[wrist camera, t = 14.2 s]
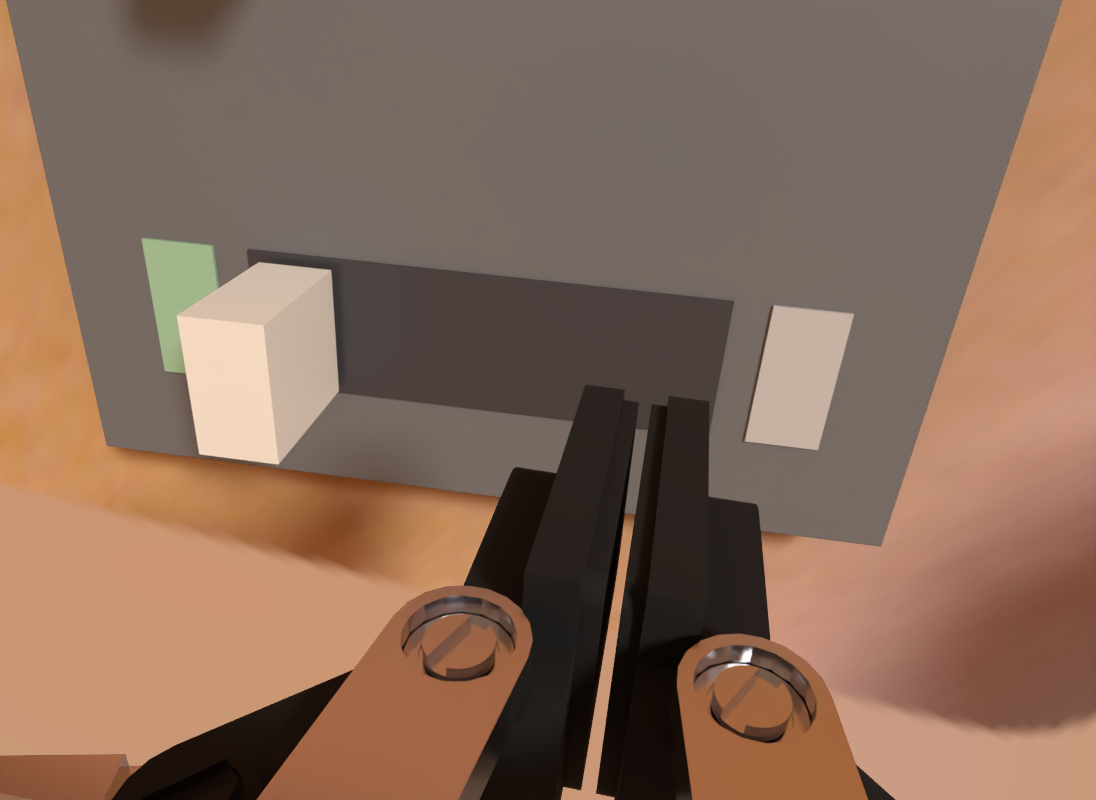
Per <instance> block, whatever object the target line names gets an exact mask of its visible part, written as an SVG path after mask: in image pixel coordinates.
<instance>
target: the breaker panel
mask: <svg viewBox="0 0 1096 800" xmlns="http://www.w3.org/2000/svg"><path fill="white" fill-rule="evenodd" d="M6 2H7V6H8V10H9V15H10V19H11V24H12V28H13V33H14V37H15V41H16V46H17V50H18V55H19V59H20V64H21V68H22V72H23V77H24V81H25V86H26V90H27V95H28V99H29V103H30V108H31V112H32V117H33V121H34V126H35V130H36V134H37V139H38V143H39V148H40V152H41V157H42V161H43V165H44V170H45V174H46V179H47V183H48V188H49V192H50V196H51V201H52V205H53V210H54V214H55V219H56V223H57V227H58V232H59V236H60V241H61V245H62V249H63V254H64V258H65V263H66V267H67V272H68V276H69V280H70V285H71V289H72V294H73V298H74V303H75V307H76V311H77V316H78V320H79V325H80V329H81V334H82V338H83V342H84V347H85V351H86V356H87V360H88V365H89V369H90V373H91V378H92V382H93V387H94V391H95V396H96V400H97V404H98V409H99V413H100V418H101V422H102V427H103V431H104V435H105V440H106V444H107V446H111V447H119V448H126V449H134V450H142V451H150V452H157V453H165V454H173V455H180V456H188V457H196V458H203V459H211V460H219V461H226V462H234V463H242V464H249V465H257V466H265V467H273V468H280V469H288V470H296V471H303V472H311V473H319V474H326V475H334V476H342V477H349V478H357V479H365V480H373V481H380V482H388V483H396V484H403V485H411V486H419V487H426V488H434V489H442V490H449V491H457V492H465V493H472V494H480V495H488V496H496V497H501V495H502V493H503V490H504V488H505V486H506V483H507V481H508V478H509V476H510V474H511V472H512V470H513V468H515V467H520V468H527V469H533V470H540V471H546V472H553V473H557V470H558V467H559V464H560V461H561V458H562V455H563V452H564V449H565V445H566V442H567V439H568V436H569V433H570V430H571V427H572V424H573V421H574V418H575V415H576V412H577V409H578V405H579V402H580V399H581V396H582V393H583V390H584V387H585V385H586V384H587V385H594V386H601V387H608V388H616V389H623V390H625V398H624V400H627V401H634V402H639V407H638V415H637V423H636V431H635V438H634V446H633V454H632V462H631V469H630V477H629V485H628V492H627V500H626V508H625V513H626V514H634V515H635V514H636V507H637V500H638V493H639V487H640V480H641V473H642V466H643V460H644V453H645V446H646V440H647V433H648V426H649V419H650V413H651V406H652V404H656V405H663V406H667V404H668V398H669V396H674V397H681V398H689V399H696V400H703V401H709V497H715V498H722V499H728V500H735V501H741V502H748V503H754V504H756V505H757V506H758V510H759V518H760V529H761V531H765V532H772V533H780V534H788V535H795V536H803V537H811V538H818V539H826V540H834V541H842V542H849V543H857V544H865V545H872V546H880V547H881V545H882V542H883V539H884V536H885V532H886V529H887V526H888V523H889V520H890V517H891V514H892V511H893V508H894V505H895V502H896V499H897V496H898V493H899V490H900V487H901V484H902V481H903V478H904V475H905V472H906V469H907V466H908V463H909V460H910V457H911V454H912V451H913V448H914V445H915V442H916V439H917V436H918V433H919V430H920V427H921V424H922V421H923V418H924V415H925V412H926V409H927V406H928V403H929V400H930V397H931V394H932V391H933V388H934V385H935V382H936V379H937V376H938V373H939V370H940V367H941V364H942V361H943V358H944V355H945V352H946V349H947V346H948V343H949V340H950V337H951V334H952V331H953V328H954V325H955V322H956V319H957V316H958V313H959V310H960V307H961V304H962V301H963V298H964V295H965V292H966V289H967V286H968V283H969V280H970V277H971V274H972V271H973V268H974V265H975V262H976V259H977V256H978V253H979V250H980V247H981V244H982V241H983V238H984V235H985V232H986V229H987V226H988V223H989V220H990V217H991V214H992V211H993V208H994V205H995V202H996V199H997V196H998V193H999V190H1000V187H1001V184H1002V181H1003V178H1004V175H1005V172H1006V169H1007V166H1008V163H1009V160H1010V157H1011V154H1012V151H1013V148H1014V145H1015V142H1016V139H1017V136H1018V133H1019V130H1020V127H1021V124H1022V121H1023V118H1024V115H1025V112H1026V109H1027V106H1028V103H1029V100H1030V97H1031V94H1032V91H1033V88H1034V85H1035V82H1036V79H1037V76H1038V73H1039V70H1040V67H1041V64H1042V60H1043V57H1044V54H1045V51H1046V48H1047V45H1048V42H1049V39H1050V36H1051V33H1052V30H1053V27H1054V24H1055V21H1056V18H1057V15H1058V12H1059V9H1060V6H1061V3H1062V0H6ZM258 262H261V263H271V264H280V265H289V266H298V267H308V268H317V269H326V270H331V273H332V289H333V304H334V320H335V336H336V352H337V368H338V384H339V392H338V393H337V394H336V395H335V397H334V398H333V399H332V400H331V401H330V403H329V404H328V405H327V406H326V408H325V409H324V410H323V411H322V412H321V414H320V415H319V416H318V417H317V418H316V420H315V421H314V422H313V423H312V425H311V426H310V427H309V428H308V429H307V431H306V432H305V433H304V434H303V435H302V437H301V438H300V439H299V440H298V442H297V443H296V444H295V445H294V446H293V448H292V449H291V450H290V451H289V453H288V454H287V455H286V456H285V457H284V459H283V460H282V461H281V462H280V463H279V465H278V464H270V463H263V462H255V461H247V460H239V459H232V458H224V457H216V456H209V455H201V454H199V450H198V444H197V437H196V431H195V425H194V419H193V413H192V407H191V401H190V395H189V388H188V382H187V376H186V370H185V364H184V358H183V352H182V345H181V339H180V333H179V327H178V321H177V315H178V314H180V313H181V312H183V311H184V310H186V309H188V308H189V307H191V306H192V305H194V304H195V303H197V302H198V301H200V300H201V299H203V298H204V297H206V296H208V295H209V294H211V293H212V292H214V291H215V290H217V289H218V288H220V287H221V286H223V285H224V284H226V283H228V282H229V281H231V280H232V279H234V278H235V277H237V276H238V275H240V274H241V273H243V272H244V271H246V270H248V269H249V268H251V267H252V266H254V265H255V264H257V263H258Z"/></svg>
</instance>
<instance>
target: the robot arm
mask: <svg viewBox="0 0 1096 800" xmlns="http://www.w3.org/2000/svg"><path fill="white" fill-rule="evenodd" d="M624 398H625V390H623V389H616V388H608V387H601V386H594V385H587V384H586V385H585V387H584V390H583V393H582V396H581V399H580V402H579V405H578V409H577V412H576V415H575V418H574V421H573V424H572V427H571V430H570V433H569V436H568V439H567V442H566V445H565V449H564V452H563V455H562V458H561V461H560V464H559V467H558V470H557V473H553V472H546V471H540V470H533V469H527V468H520V467H515V468H513V470H512V472H511V474H510V476H509V478H508V481H507V483H506V486H505V488H504V490H503V493H502V495H501V498H500V500H499V502H498V505H497V507H496V509H495V512H494V514H493V517H492V519H491V521H490V524H489V526H488V528H487V531H486V533H485V536H484V538H483V540H482V543H481V545H480V548H479V550H478V552H477V555H476V557H475V559H474V562H473V564H472V567H471V569H470V571H469V574H468V576H467V579H466V581H465V583H464V586H449V587H443V588H439V589H436V590H432V591H428V592H425V593H423V594H421V595H420V596H418V597H416V598H414V599H412V600H410V601H409V602H407V603H406V604H405V605H404V606H403V607H402V608H401V609H400V610H399V611H398V612H397V613H396V614H395V615H394V616H393V617H392V619H391V620H390V621H389V623H388V624H387V625H386V627H385V628H384V629H383V631H382V632H381V633H380V635H379V636H378V637H377V639H376V640H375V641H374V643H373V644H372V645H371V647H370V648H369V649H368V651H367V652H366V653H365V655H364V656H363V658H362V659H361V660H360V662H359V663H358V664H357V666H356V667H355V668H354V670H351V671H349V672H347V673H344V674H342V675H340V676H338V677H335V678H333V679H330V680H328V681H326V682H323V683H321V684H318V685H316V686H314V687H312V688H309V689H307V690H304V691H302V692H300V693H297V694H295V695H293V696H290V697H288V698H286V699H283V700H281V701H279V702H276V703H274V704H271V705H269V706H267V707H264V708H262V709H260V710H257V711H255V712H253V713H250V714H248V715H245V716H243V717H241V718H239V719H236V720H234V721H231V722H229V723H227V724H224V725H222V726H220V727H217V728H215V729H212V730H210V731H208V732H206V733H203V734H201V735H199V736H196V737H194V738H191V739H189V740H187V741H184V742H182V743H180V744H177V745H175V746H173V747H171V748H170V749H168V750H166V751H164V752H162V753H160V754H159V755H157V756H155V757H153V758H151V759H150V760H148V761H147V762H146V763H145V764H144V765H143V766H129V765H128V762H127V758H126V755H125V754H117V755H25V756H0V800H561V795H562V790H563V787H567V788H572V789H577V790H581V787H582V781H583V774H584V769H585V763H586V757H587V751H588V745H589V739H590V733H591V727H592V720H593V715H594V708H595V703H596V697H597V691H598V685H599V678H600V672H601V666H602V660H603V654H604V648H605V642H606V636H607V630H608V624H609V618H610V612H611V606H612V600H613V594H614V588H615V582H616V575H617V568H618V561H619V554H620V546H621V538H622V531H623V523H624V515H625V508H626V500H627V492H628V485H629V477H630V469H631V462H632V454H633V446H634V438H635V431H636V423H637V415H638V407H639V402H634V401H627V400H624ZM596 794H601V795H606V796H611V797H615V799H614V800H895V799H894V798H893V797H892V796H890V795H889V794H888V793H887V792H886V791H885V790H884V789H883V788H882V787H880V786H879V785H878V784H877V783H876V782H875V781H874V780H873V779H872V778H870V777H869V776H868V775H867V774H866V773H865V772H864V771H863V770H861V769H860V768H859V767H858V766H857V765H856V764H855V761H854V758H853V756H852V752H851V750H850V747H849V744H848V741H847V738H846V736H845V733H844V730H843V727H842V724H841V722H840V718H839V716H838V713H837V710H836V707H835V704H834V701H833V699H832V696H831V694H830V692H829V690H828V688H827V687H826V685H825V683H824V681H823V679H822V677H821V676H820V675H819V674H818V673H817V672H816V671H815V670H814V669H813V668H812V667H811V666H810V665H809V664H808V662H807V661H806V660H804V659H803V658H801V657H800V656H798V655H797V654H795V653H794V652H792V651H791V650H789V649H788V648H786V647H785V646H782V645H780V644H777V643H775V642H772V641H770V631H769V620H768V609H767V597H766V586H765V575H764V563H763V552H762V541H761V529H760V518H759V510H758V506H757V505H756V504H754V503H748V502H741V501H735V500H728V499H722V498H715V497H709V401H703V400H696V399H689V398H681V397H674V396H669V398H668V404H667V406H663V405H656V404H652V406H651V413H650V419H649V426H648V433H647V440H646V446H645V453H644V460H643V466H642V473H641V480H640V487H639V493H638V500H637V507H636V514H635V520H634V527H633V534H632V541H631V547H630V554H629V561H628V567H627V574H626V581H625V588H624V595H623V602H622V609H621V616H620V624H619V631H618V638H617V646H616V654H615V661H614V667H613V675H612V682H611V689H610V697H609V704H608V711H607V718H606V726H605V733H604V740H603V747H602V755H601V762H600V769H599V777H598V785H597V791H596Z"/></svg>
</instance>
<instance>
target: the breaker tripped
mask: <svg viewBox="0 0 1096 800" xmlns="http://www.w3.org/2000/svg"><path fill="white" fill-rule="evenodd" d="M177 321H178V327H179V333H180V339H181V345H182V352H183V358H184V364H185V370H186V376H187V382H188V388H189V395H190V401H191V407H192V413H193V419H194V425H195V431H196V437H197V444H198V450H199V454H201V455H209V456H216V457H224V458H232V459H239V460H247V461H255V462H263V463H270V464H278V465H279V463H280V462H281V461H282V460H283V459H284V457H285V456H286V455H287V454H288V453H289V451H290V450H291V449H292V448H293V446H294V445H295V444H296V443H297V442H298V440H299V439H300V438H301V437H302V435H303V434H304V433H305V432H306V431H307V429H308V428H309V427H310V426H311V425H312V423H313V422H314V421H315V420H316V418H317V417H318V416H319V415H320V414H321V412H322V411H323V410H324V409H325V408H326V406H327V405H328V404H329V403H330V401H331V400H332V399H333V398H334V397H335V395H336V394H337V393H338V392H339V384H338V368H337V352H336V336H335V320H334V304H333V289H332V273H331V270H326V269H317V268H308V267H298V266H289V265H280V264H271V263H261V262H258V263H257V264H255V265H254V266H252V267H251V268H249V269H248V270H246V271H244V272H243V273H241V274H240V275H238V276H237V277H235V278H234V279H232V280H231V281H229V282H228V283H226V284H224V285H223V286H221V287H220V288H218V289H217V290H215V291H214V292H212V293H211V294H209V295H208V296H206V297H204V298H203V299H201V300H200V301H198V302H197V303H195V304H194V305H192V306H191V307H189V308H188V309H186V310H184V311H183V312H181V313H180V314H178V315H177Z"/></svg>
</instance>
